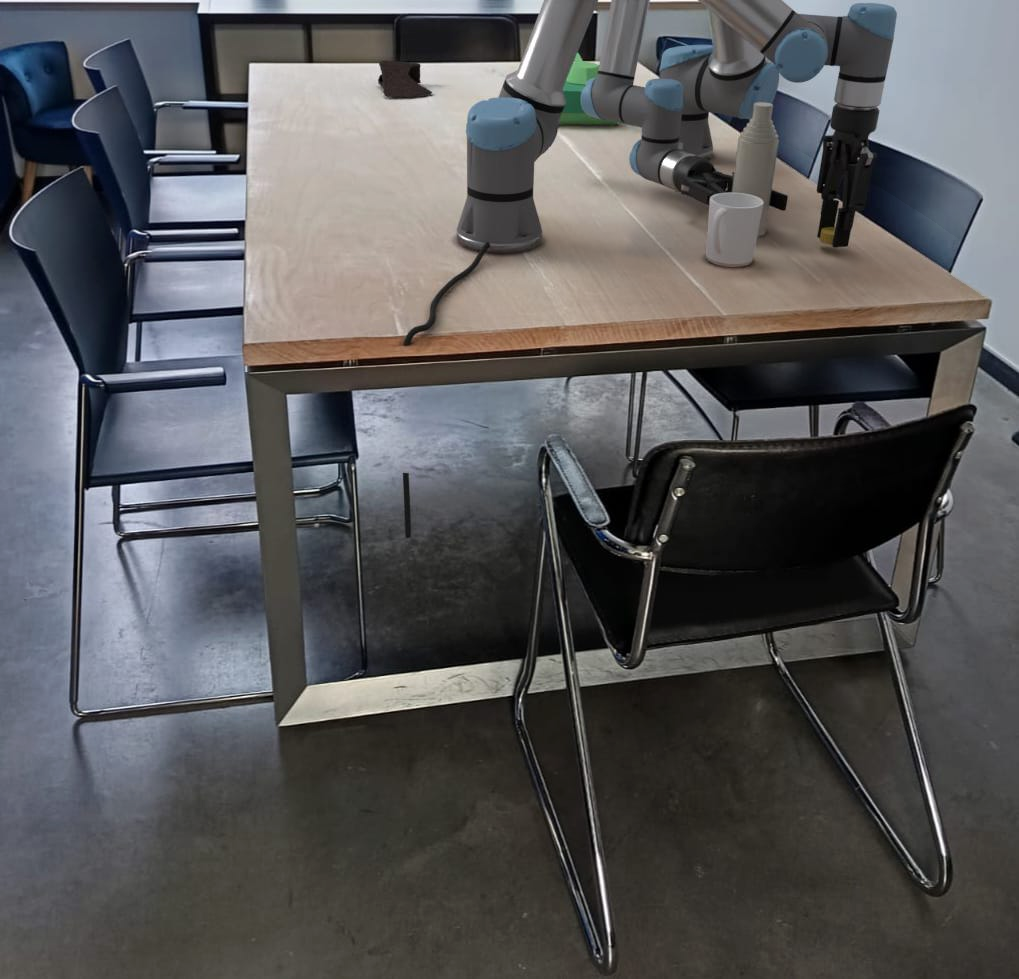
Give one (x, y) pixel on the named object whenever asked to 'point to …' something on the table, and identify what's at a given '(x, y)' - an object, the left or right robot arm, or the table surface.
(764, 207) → the bottle
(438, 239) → the table surface
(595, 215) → the table surface
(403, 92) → the axe head
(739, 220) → the mug
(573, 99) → the toy tank
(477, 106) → the left robot arm
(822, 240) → the cap
